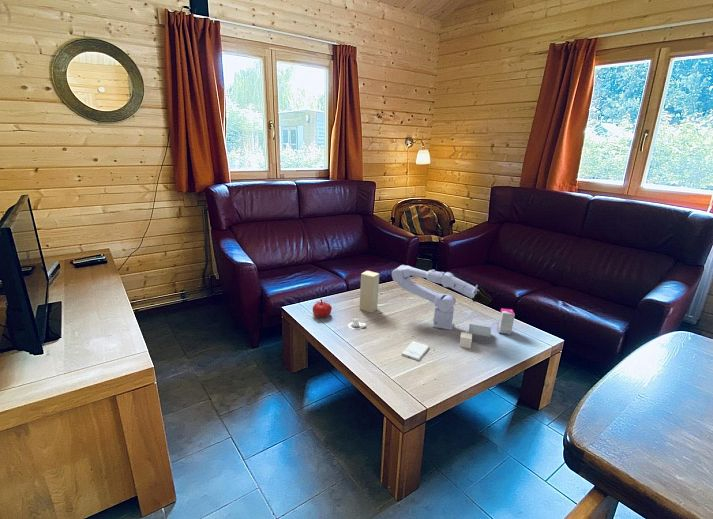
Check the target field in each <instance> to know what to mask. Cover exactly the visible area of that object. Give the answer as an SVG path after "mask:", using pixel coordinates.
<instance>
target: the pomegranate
mask: <svg viewBox="0 0 713 519" xmlns="http://www.w3.org/2000/svg"><path fill="white" fill-rule="evenodd" d="M332 309H333V307H332V305H331V304H330V303H328V302H327V300H325V301H323V299H321V298H320V301H316V303H315V304H314V305H313V306H312V314H313V316H314V317H316V318H320V319H322V318H324V319H325V318H327V317H329V316H330V315H331V313H332V311H333V310H332Z"/></svg>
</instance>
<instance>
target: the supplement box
mask: <svg viewBox="0 0 713 519" xmlns="http://www.w3.org/2000/svg"><path fill="white" fill-rule="evenodd" d="M515 316H516V314H515V312H514V310H513V309H511V308H500V312H499V318H498V323H497V331H498V334H500V335H506V334H507V335H508V336H511V335H512V331H513V326H514V320H515Z"/></svg>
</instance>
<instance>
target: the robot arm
mask: <svg viewBox="0 0 713 519" xmlns="http://www.w3.org/2000/svg"><path fill="white" fill-rule="evenodd" d="M411 276H413V277H419V278H424V279H426V280H427V281H428V282H431V283H435V284H441V285H442V287H444V288H450V289H452V290H454V291H456V292H458V293H460V294H462V295H464V296H466V297H468V298H469V299H472V302H473V303H475V302H476V303H481V304H485V305H490V303H492V300H493V297H492V296H491V295H490V294H488V293H487V292H485V290H484V289H483V288H482V287H480V288H479V289H478V287H479V285H478V284H476V285H475V286H474V285H472V284H470V283H468V282H467V281H464V280H462V279H460V278H458V277H456V276H455V275H454V274H453V273H452V272H449V271H446V272H444V271H436V270H435V269H429V270H428V271H426V270H424V269H419V268H416V267H414V266H410V265H405V264H401V265H399V266H398V267H396V268H395V269H393V270H392V271H391V278H392V281H393V282H395V283H397V284H398V285H399V287H400V288H401V289H403V290H404V291H406V292H409V293H411V294H412V295H415V296H418V297H420V298H422V299H425V300H427V301H428V302H431V303H433V304H434V307H435V308H434V316H433V320H432V321H433V323H432V325H433V327H434V328H437V329H438V328H439V329H445V330H449V331H452V330H453V328H454V321H453V319H454V311H455V309H454V306H455V304H456V302H457V301H456V300H457V299H456V298H455V296H454V295H452V294H449V293H448V294H446V293H444V292H443V293H441V292H440V293H439V292H436V291H434V290H433V289H429V288H427V287H425V286H422V285H420V284H418V283H416V282H413V281H412V280H411Z"/></svg>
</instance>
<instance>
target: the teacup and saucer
mask: <svg viewBox="0 0 713 519" xmlns="http://www.w3.org/2000/svg"><path fill="white" fill-rule="evenodd" d="M351 325H353V327H352V326H351ZM347 327H348V328H349V329H351V330H362V329H363V328H365V327H367V324H366V323H365V322H360V318H358V317H354V318H352V319H351V320H350V322H349V323H348V325H347ZM354 327H355V328H354ZM356 327H358V328H356Z"/></svg>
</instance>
